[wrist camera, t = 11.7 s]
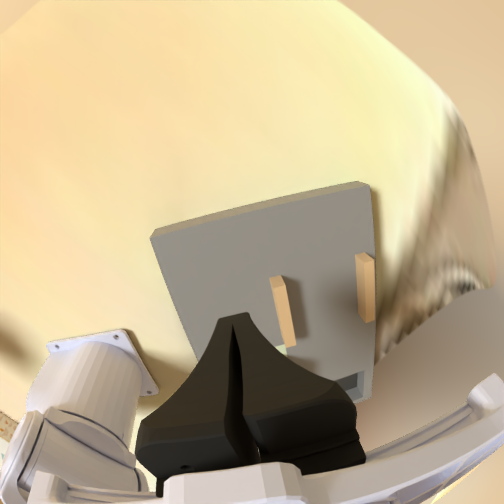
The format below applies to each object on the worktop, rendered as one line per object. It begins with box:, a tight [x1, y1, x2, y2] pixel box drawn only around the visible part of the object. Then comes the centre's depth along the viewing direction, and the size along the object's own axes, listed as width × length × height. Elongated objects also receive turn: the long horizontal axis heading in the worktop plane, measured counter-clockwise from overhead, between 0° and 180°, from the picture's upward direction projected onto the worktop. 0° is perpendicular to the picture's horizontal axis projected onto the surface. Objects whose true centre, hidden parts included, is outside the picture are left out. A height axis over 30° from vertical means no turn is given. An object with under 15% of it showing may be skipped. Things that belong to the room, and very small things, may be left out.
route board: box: [150, 181, 376, 404], centre depth 23 cm, size 15×22×4 cm
